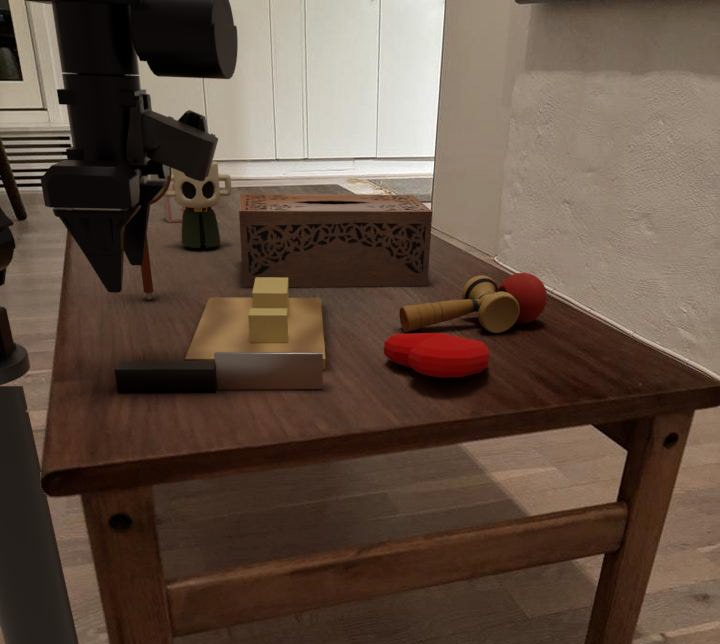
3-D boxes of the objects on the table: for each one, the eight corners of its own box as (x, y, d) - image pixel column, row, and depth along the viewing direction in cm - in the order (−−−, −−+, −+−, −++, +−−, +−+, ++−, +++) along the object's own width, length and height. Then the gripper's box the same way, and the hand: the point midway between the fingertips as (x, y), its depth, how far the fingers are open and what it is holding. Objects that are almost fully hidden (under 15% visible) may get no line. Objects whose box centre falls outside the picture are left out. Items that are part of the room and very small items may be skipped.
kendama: (419, 355, 83) (562, 322, 86) (411, 298, 81) (558, 267, 84) (397, 344, 90) (530, 314, 94) (389, 292, 88) (526, 263, 91)
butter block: (253, 318, 85) (252, 292, 84) (256, 301, 91) (255, 277, 90) (288, 318, 85) (287, 293, 84) (288, 301, 91) (288, 277, 90)
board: (185, 370, 74) (184, 358, 73) (209, 306, 93) (209, 297, 92) (325, 369, 75) (325, 358, 74) (320, 307, 94) (320, 297, 93)
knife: (117, 394, 68) (112, 357, 66) (122, 385, 70) (117, 348, 68) (323, 393, 70) (322, 356, 68) (322, 384, 71) (322, 348, 70)
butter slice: (249, 342, 78) (248, 315, 76) (251, 335, 80) (249, 308, 78) (287, 342, 78) (287, 315, 77) (288, 335, 80) (287, 308, 79)
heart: (458, 364, 82) (375, 365, 78) (462, 325, 80) (378, 324, 77) (518, 386, 71) (426, 388, 67) (524, 342, 70) (430, 341, 66)
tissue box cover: (243, 287, 101) (239, 211, 96) (244, 262, 113) (240, 193, 108) (427, 285, 104) (432, 211, 99) (408, 261, 117) (412, 194, 112)
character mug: (169, 253, 118) (160, 165, 111) (166, 243, 124) (158, 160, 117) (237, 250, 120) (232, 164, 114) (231, 241, 126) (226, 159, 120)
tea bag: (165, 219, 143) (159, 163, 138) (199, 217, 145) (195, 162, 140) (169, 222, 140) (163, 165, 135) (204, 220, 142) (200, 164, 137)
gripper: (191, 81, 49) (207, 310, 57) (218, 75, 66) (228, 254, 73) (19, 75, 49) (60, 308, 56) (90, 71, 65) (114, 252, 72)
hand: (126, 277), depth 65 cm, fingers open, 9 cm apart
